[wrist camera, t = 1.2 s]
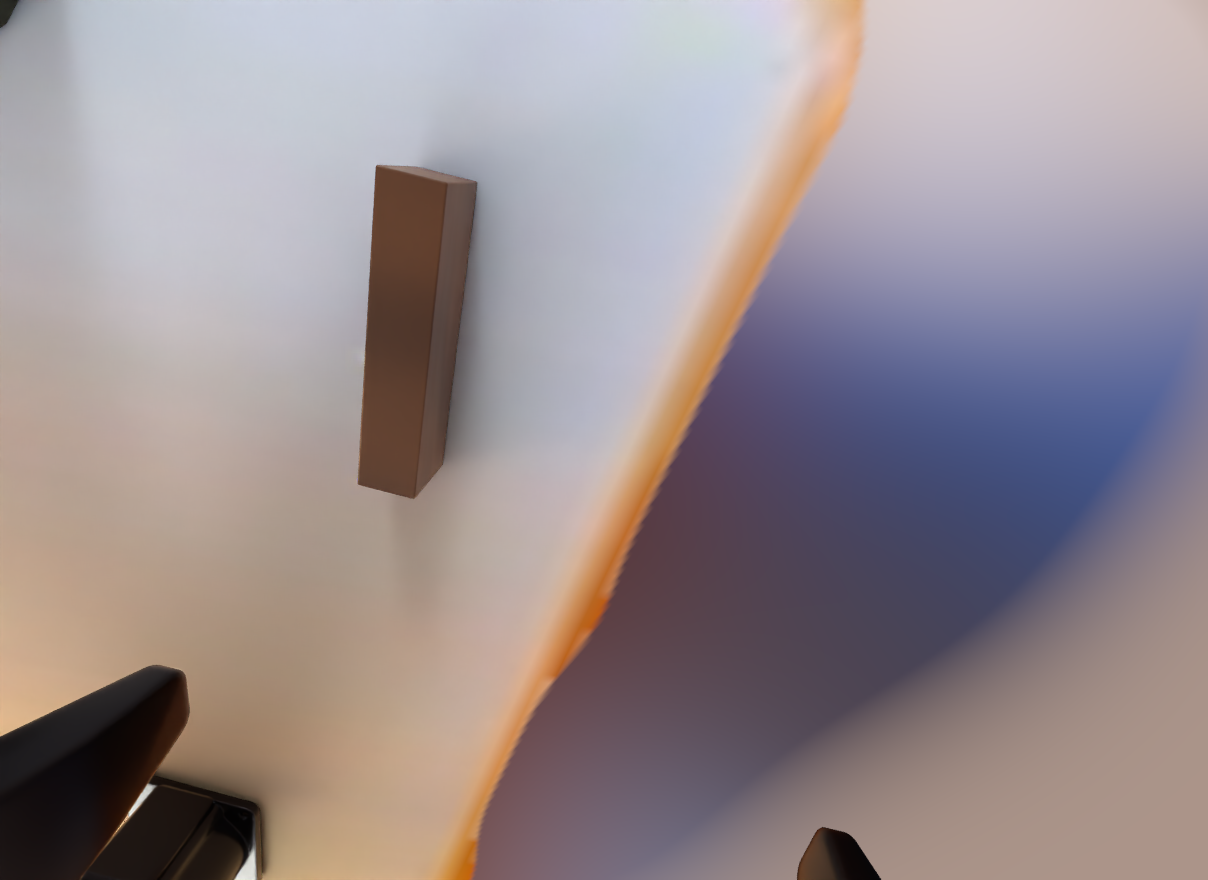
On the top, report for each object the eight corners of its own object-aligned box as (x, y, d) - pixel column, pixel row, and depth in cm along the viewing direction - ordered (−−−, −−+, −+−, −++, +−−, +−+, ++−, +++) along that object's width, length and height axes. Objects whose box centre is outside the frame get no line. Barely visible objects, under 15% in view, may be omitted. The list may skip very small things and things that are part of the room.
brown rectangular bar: (443, 465, 20) (414, 499, 18) (391, 452, 20) (356, 484, 18) (478, 181, 17) (447, 182, 14) (415, 166, 17) (375, 164, 15)
